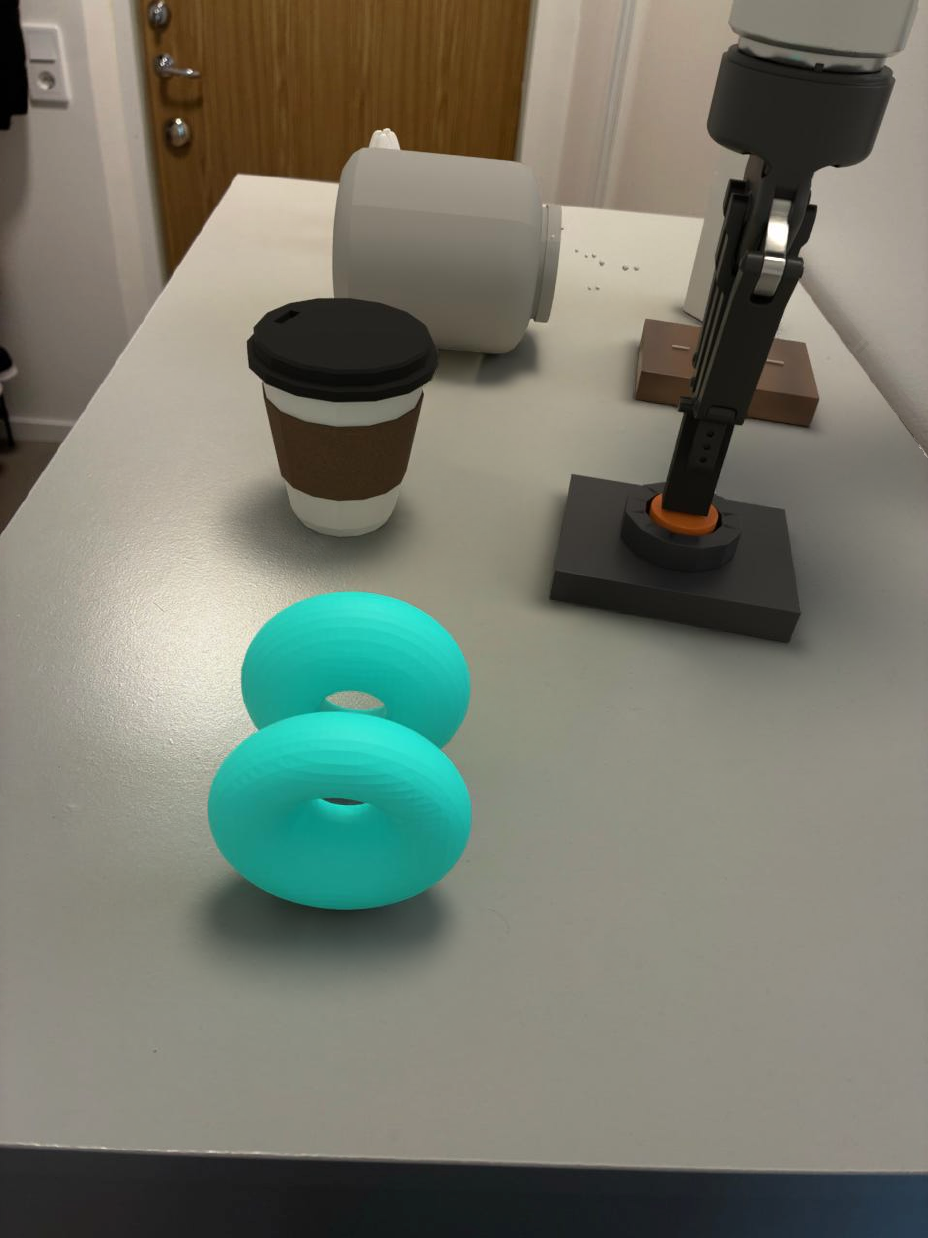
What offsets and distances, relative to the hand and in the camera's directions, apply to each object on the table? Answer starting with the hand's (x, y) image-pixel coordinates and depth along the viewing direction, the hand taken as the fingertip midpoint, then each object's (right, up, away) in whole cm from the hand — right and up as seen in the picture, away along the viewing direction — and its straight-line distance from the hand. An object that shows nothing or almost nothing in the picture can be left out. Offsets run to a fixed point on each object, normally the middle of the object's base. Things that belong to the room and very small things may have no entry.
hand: (684, 505), depth 56 cm
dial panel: (+9, +13, +24) cm, 29 cm away
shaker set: (-22, +33, +44) cm, 59 cm away
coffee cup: (-21, 0, +5) cm, 21 cm away
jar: (-12, +18, +27) cm, 35 cm away
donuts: (-18, -16, -14) cm, 28 cm away
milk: (+12, +22, +36) cm, 44 cm away
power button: (0, -2, +1) cm, 2 cm away
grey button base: (0, -3, +3) cm, 5 cm away
